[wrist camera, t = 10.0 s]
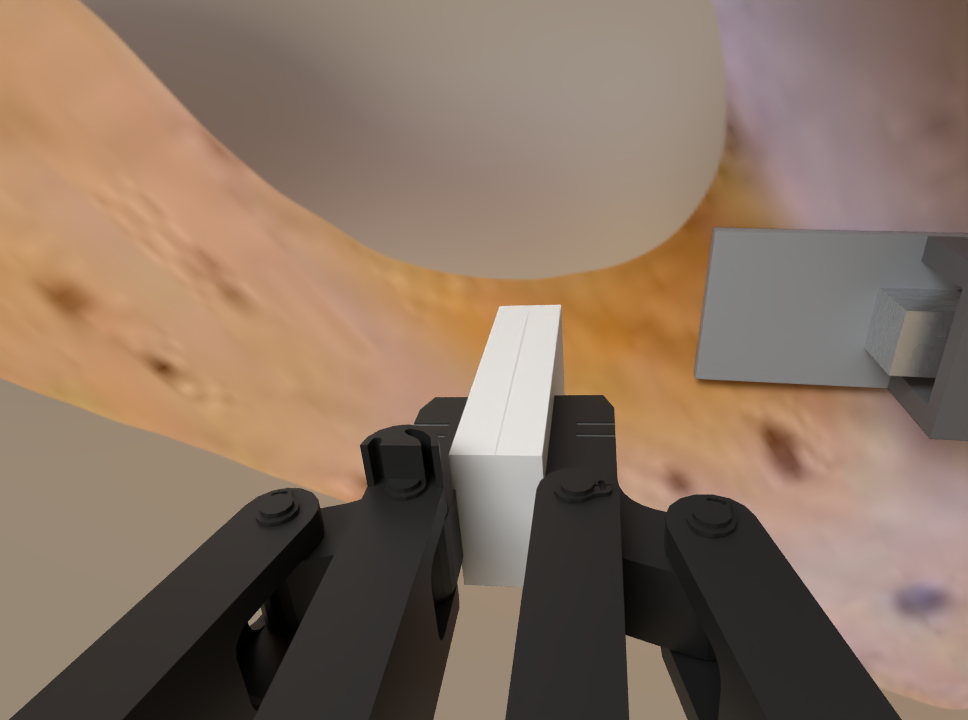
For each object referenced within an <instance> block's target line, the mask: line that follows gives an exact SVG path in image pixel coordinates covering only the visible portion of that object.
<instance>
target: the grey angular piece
mask: <svg viewBox="0 0 968 720" xmlns="http://www.w3.org/2000/svg"><path fill="white" fill-rule="evenodd" d="M879 287H887V288H916V289H944V290H962V292H961V295H960V299H959V302H958V305H957V309H956V312H955V315H954V319H953V322H952V325H951V329H950V332H949V336H948V339H947V342H946V346H945V349H944V352H943V356H942V359H941V362H940V366H939V369H938V372H937V376H936V378H928V377H908V376H889V375H888V374H887V373H886V372H885V371H884V369H883V368H882V367H881V366H880V365H879V364H878V363H877V361H876V360H875V359H874V358H873V357H872V356H871V355H870V354H869V352H868V351H867V350H866V349H865V348H864V346H865V342H866V338H867V334H868V330H869V326H870V322H871V318H872V314H873V310H874V306H875V302H876V298H877V294H878V290H879ZM694 376H695V379H711V380H731V381H751V382H771V383H791V384H811V385H831V386H851V387H871V388H887V389H888V390H889V391H890V392H891V393H892V395H893V396H894V397H895V398H896V399H897V400H898V402H899V403H900V404H901V405H902V406H903V408H904V409H905V410H906V411H907V412H908V413H909V415H910V416H911V417H912V418H913V419H914V421H915V422H916V423H917V424H918V425H919V426H920V428H921V429H922V430H923V431H924V432H925V433H926V435H927V436H928V437H929V438H930V439H942V440H959V441H968V233H928V232H885V231H842V230H799V229H756V228H713V233H712V240H711V248H710V255H709V263H708V270H707V278H706V285H705V293H704V300H703V308H702V315H701V323H700V330H699V338H698V345H697V353H696V360H695V368H694Z"/></svg>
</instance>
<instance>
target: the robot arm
mask: <svg viewBox="0 0 968 720" xmlns="http://www.w3.org/2000/svg"><path fill="white" fill-rule="evenodd" d="M360 448H361V453H362V458H363V464H364V469H365V475H366V480H367V485H368V487H367V489H366V491H365V493H364V495H363V497H362V499H360V500H358V501H354V502H350V503H347V504H342V505H337V506H331V507H326V508H320V506H319V501H318V499H317V498H316V496H315V495H314V494H313V493H312V492H309V491H307V490H304V489H300V488H286V489H280V490H279V489H278V490H274V491H271V492H268V493H266V494H263V495H261V496H258V497H257V498H255V499H254V500H253V501H251V502H250V503H248V504H247V505H245V506H244V507H243V508H242V509H241V510H240V511H239V512H238V513H237V514H235V515H234V516H233V517H232V518H231V519H230V520H229V521H228V522H227V523H226V524H225V525H223V526H222V527H221V528H220V529H219V530H218V531H217V532H216V533H215V534H214V535H212V536H211V537H210V538H209V539H208V540H207V541H206V542H205V543H203V544H202V545H201V546H200V547H199V548H198V549H197V550H196V551H195V552H194V553H193V554H191V555H190V556H189V557H188V558H187V559H186V560H185V561H184V562H182V563H181V564H180V565H179V566H178V567H177V568H176V569H175V570H174V571H173V572H172V573H170V574H169V575H168V576H167V577H166V578H165V579H164V580H163V581H162V582H161V583H159V584H158V585H157V586H156V587H155V588H154V589H153V590H152V591H151V592H149V593H148V594H147V595H146V596H145V597H144V598H143V599H142V600H141V601H139V602H138V603H137V604H136V605H135V606H134V607H133V608H132V609H131V610H130V611H129V612H127V614H125V615H124V616H123V617H122V618H121V619H120V620H118V621H117V623H115V624H114V625H113V626H112V627H111V628H110V629H109V630H107V631H106V632H105V633H104V634H103V635H102V636H101V637H100V638H99V639H98V640H96V641H95V642H94V643H93V644H92V645H91V646H90V647H89V648H88V649H87V650H85V651H84V652H83V653H82V654H81V655H80V656H79V657H78V658H77V659H75V661H73V662H72V663H71V664H70V665H69V666H68V667H67V668H66V669H65V670H63V672H61V673H60V674H59V675H58V676H57V677H56V678H55V679H53V680H52V681H51V682H50V683H49V684H48V685H47V686H46V687H45V688H43V689H42V690H41V691H40V692H39V693H38V694H37V695H36V696H35V697H34V698H32V699H31V700H30V701H29V702H28V703H27V704H26V705H25V706H24V707H23V708H22V709H20V710H19V711H18V712H17V713H16V714H15V715H14V716H13V717H11V718H10V719H9V720H433V718H434V714H435V710H436V705H437V701H438V697H439V692H440V688H441V684H442V680H443V675H444V671H445V667H446V662H447V658H448V654H449V649H450V645H451V641H452V637H453V632H454V627H455V624H456V619H457V615H458V611H459V593H458V585H457V580H458V576H459V573H460V568H461V565H462V568H463V576H464V584H465V585H484V586H507V587H523V592H522V600H521V607H520V615H519V622H518V629H517V637H516V644H515V652H514V659H513V667H512V674H511V682H510V689H509V696H508V704H507V711H506V719H505V720H629V708H628V707H629V706H628V685H627V684H628V683H627V660H626V639H625V638H626V637H625V635H628V636H631V637H634V638H637V639H640V640H643V641H646V642H649V643H652V644H655V645H658V646H661V652H662V657H663V660H664V662H665V665H666V667H667V670H668V672H669V675H670V677H671V679H672V682H673V684H674V687H675V689H676V692H677V694H678V697H679V699H680V702H681V705H682V707H683V710H684V712H685V714H686V717H687V719H688V720H902V719H901V718H900V717H899V715H898V714H897V713H896V711H895V710H894V708H893V707H892V706H891V704H890V703H889V702H888V700H887V699H886V697H885V696H884V694H883V693H882V692H881V690H880V689H879V687H878V686H877V685H876V683H875V682H874V680H873V679H872V678H871V676H870V675H869V673H868V672H867V671H866V669H865V668H864V667H863V665H862V664H861V662H860V661H859V660H858V658H857V657H856V655H855V654H854V653H853V651H852V650H851V648H850V647H849V646H848V644H847V643H846V641H845V640H844V639H843V637H842V636H841V634H840V633H839V632H838V630H837V629H836V628H835V626H834V625H833V623H832V622H831V621H830V619H829V618H828V616H827V615H826V614H825V612H824V611H823V609H822V608H821V607H820V605H819V604H818V602H817V601H816V600H815V598H814V597H813V595H812V594H811V593H810V591H809V590H808V588H807V587H806V586H805V584H804V583H803V582H802V580H801V579H800V577H799V576H798V575H797V573H796V572H795V570H794V569H793V568H792V566H791V565H790V563H789V562H788V561H787V559H786V558H785V556H784V555H783V554H782V552H781V551H780V549H779V548H778V547H777V545H776V544H775V543H774V541H773V540H772V538H771V537H770V536H769V534H768V533H767V531H766V530H765V529H764V527H763V526H762V524H761V523H760V522H759V520H758V519H757V517H756V516H755V515H754V514H753V513H752V512H751V511H750V510H749V509H748V508H746V507H745V506H744V505H742V504H740V503H738V502H736V501H734V500H732V499H730V498H725V497H721V496H716V495H692V496H688V497H684V498H680V499H679V500H677V501H676V502H674V503H673V504H672V505H670V506H669V508H668V511H667V512H664V511H660V510H656V509H652V508H649V507H646V506H643V505H641V504H639V503H637V502H635V501H633V500H631V499H630V498H629V497H628V496H627V495H625V494H624V493H623V491H622V490H621V488H620V487H619V484H618V480H617V461H616V439H615V417H614V407H613V406H612V405H611V404H610V403H609V401H608V400H607V399H606V398H605V397H604V396H603V395H564V370H563V343H562V315H561V305H530V306H500V307H499V310H498V313H497V315H496V318H495V321H494V324H493V327H492V330H491V333H490V336H489V339H488V342H487V344H486V347H485V350H484V353H483V356H482V359H481V362H480V365H479V368H478V371H477V374H476V376H475V379H474V382H473V385H472V388H471V391H470V394H469V397H435V398H434V399H433V400H432V401H430V402H429V403H428V404H427V405H425V406H424V407H423V408H422V409H420V411H419V414H418V416H417V418H416V420H415V422H414V425H399V426H392V427H389V428H385V429H382V430H379V431H377V432H375V433H374V434H372V435H370V436H368V437H367V438H366V439H365V440H364V441H363V442H362V444H361V445H360ZM260 607H261V610H262V615H261V616H260V617H259V618H258V620H257V621H256V622H254V623H253V624H252V625H251V626H249V625H248V621H249V620H250V619H251V617H252V616H253V615H254V614H255V613H256V612H257V611H258V610H259V608H260Z"/></svg>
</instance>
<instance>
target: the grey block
mask: <svg viewBox="0 0 968 720" xmlns="http://www.w3.org/2000/svg"><path fill="white" fill-rule="evenodd" d="M961 292H962V290H944V289H916V288H887V287H879V290H878V294H877V298H876V302H875V306H874V310H873V314H872V318H871V322H870V326H869V330H868V334H867V338H866V342H865V346H864V348H865V349H866V350H867V351H868V352H869V354H870V355H871V356H872V357H873V358H874V359H875V360H876V361H877V363H878V364H879V365H880V366H881V367H882V368H883V369H884V371H885V372H886V373H887V374H888V375H889V376H908V377H928V378H936V376H937V372H938V369H939V366H940V362H941V359H942V356H943V352H944V349H945V346H946V342H947V339H948V336H949V332H950V329H951V325H952V322H953V319H954V315H955V312H956V309H957V305H958V302H959V299H960V295H961Z"/></svg>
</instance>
